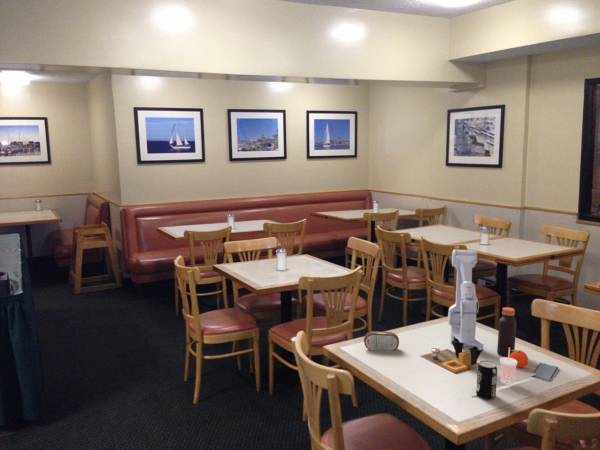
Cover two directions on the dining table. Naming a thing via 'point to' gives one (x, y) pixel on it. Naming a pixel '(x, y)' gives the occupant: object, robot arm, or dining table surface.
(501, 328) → the bottle
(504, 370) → the beverage cup
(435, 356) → the chrome cabinet knob
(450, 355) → the plate
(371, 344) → the tin
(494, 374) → the beverage can
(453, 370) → the orange square hoop tool
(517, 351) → the clementine
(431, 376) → the dining table surface
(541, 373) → the smartphone
